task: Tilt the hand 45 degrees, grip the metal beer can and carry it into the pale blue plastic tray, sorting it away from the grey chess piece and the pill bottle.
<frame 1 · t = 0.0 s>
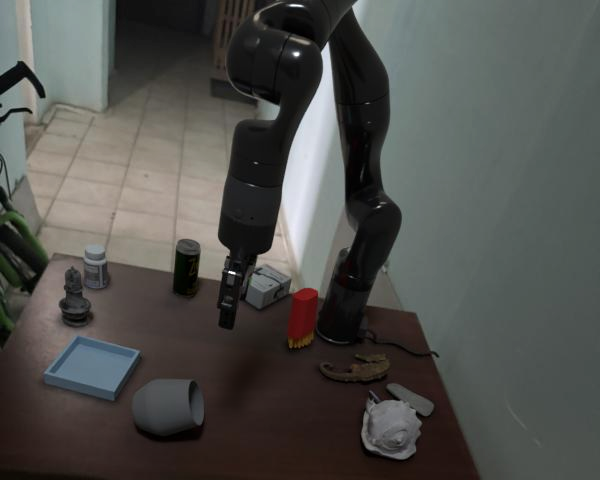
hand: (232, 312, 79), 22 cm above the table, tool pointing down, fingers open, 8 cm apart
pen: (413, 439, 100), on the table
seahorse: (331, 357, 106), point 5 cm above the table
decorative stone: (413, 393, 110), point 1 cm above the table
ink box: (247, 293, 120), point 3 cm above the table
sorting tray: (94, 371, 94), on the table
french fries: (306, 292, 108), point 12 cm above the table
pill bottle: (96, 284, 114), on the table
grey chess piece: (76, 320, 104), on the table
beer can: (184, 292, 119), on the table
seashell: (376, 437, 99), on the table
cup: (137, 410, 86), point 3 cm above the table
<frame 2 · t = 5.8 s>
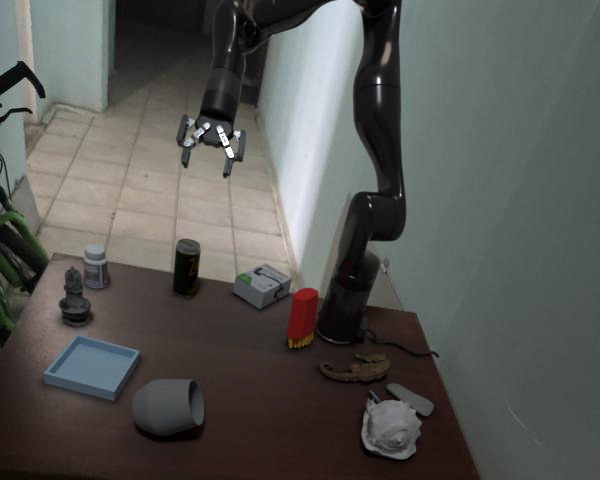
hand: (204, 171, 110), 24 cm above the table, tool tilted 45°, fingers open, 8 cm apart
nothing on the table moved.
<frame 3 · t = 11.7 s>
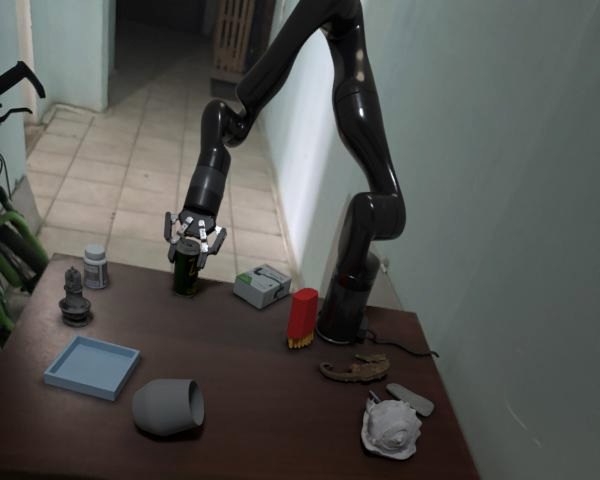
hand: (184, 265, 113), 8 cm above the table, tool tilted 45°, fingers closed on beer can, 5 cm apart
beer can: (184, 292, 119), on the table, touching gripper
everything else where it was.
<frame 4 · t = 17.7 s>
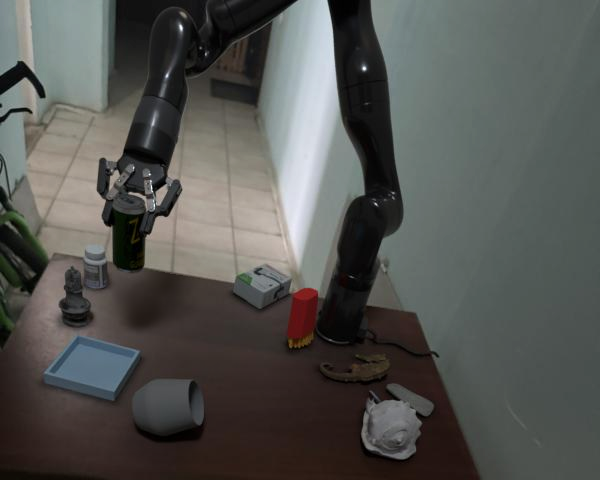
hand: (125, 229, 85), 24 cm above the table, tool tilted 45°, fingers closed on beer can, 5 cm apart
beer can: (128, 267, 92), point 16 cm above the table, touching gripper
everything else where it was.
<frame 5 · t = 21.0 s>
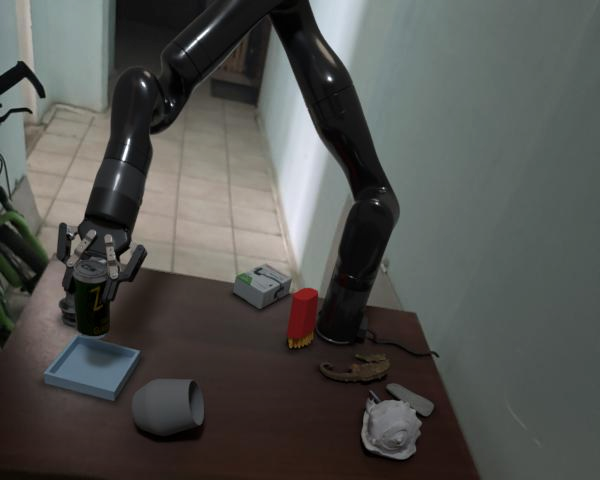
hand: (87, 297, 82), 17 cm above the table, tool tilted 45°, fingers closed on beer can, 5 cm apart
beer can: (93, 331, 88), point 9 cm above the table, touching gripper
everything else where it was.
when the fingers open (8 cm above the table, at t = 23.8 s): beer can stays where it is, resting on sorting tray.
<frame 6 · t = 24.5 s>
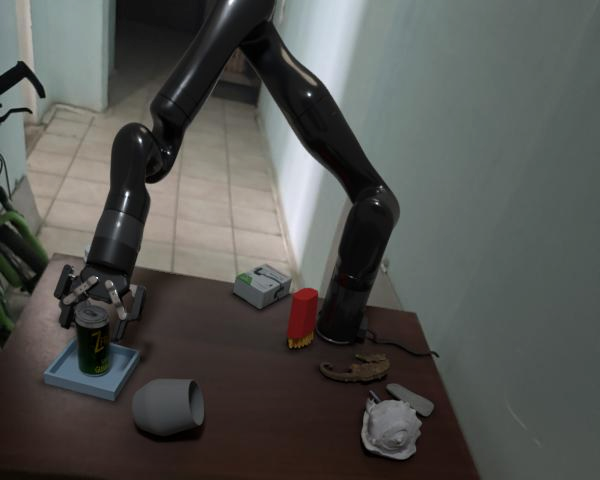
hand: (89, 335, 87), 9 cm above the table, tool tilted 45°, fingers open, 8 cm apart
beer can: (94, 369, 94), resting on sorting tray
everything else where it was.
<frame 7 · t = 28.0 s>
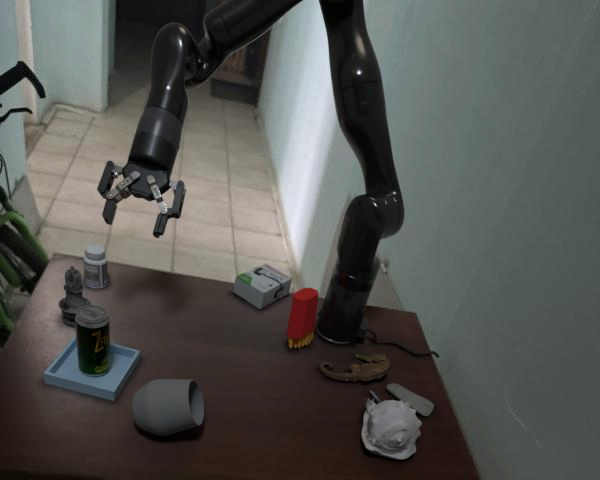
hand: (131, 229, 90), 22 cm above the table, tool tilted 45°, fingers open, 8 cm apart
nothing on the table moved.
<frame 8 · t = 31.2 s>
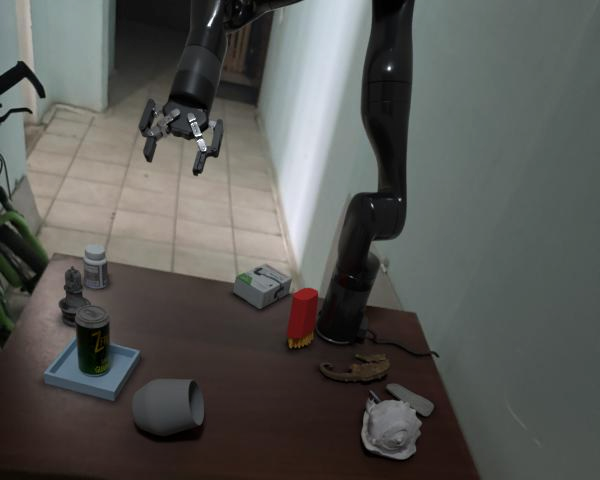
hand: (171, 167, 92), 31 cm above the table, tool tilted 45°, fingers open, 8 cm apart
nothing on the table moved.
at the end: beer can inside the target area in the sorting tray (0.2 cm from its centre), point 0.3 cm above the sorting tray's base; beer can tilted 0°; the gripper is holding nothing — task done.
